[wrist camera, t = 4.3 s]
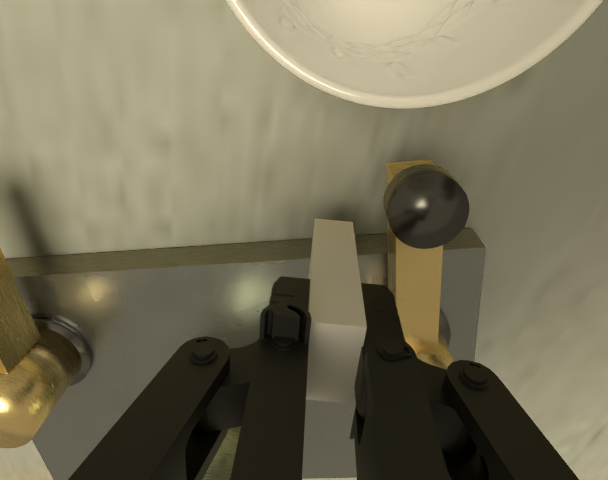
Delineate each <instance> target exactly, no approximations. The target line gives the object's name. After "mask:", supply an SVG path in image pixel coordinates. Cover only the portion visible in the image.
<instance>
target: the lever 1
mask: <svg viewBox="0 0 608 480" xmlns="http://www.w3.org/2000/svg"><path fill="white" fill-rule="evenodd" d="M81 365H82V360H81V356H80V353H79V351H78V350H77V348H76V347H75V345H74V344H73V343H72V342H71V341H70V340H69V339H67V338H66V337H65V336H63V335H62V334H60V333H58V332H55V331H53V330H50V329H47V328H41V327H36V325H35V323H34V321H33V319H32V317H31V314H30V312H29V310H28V308H27V306H26V303H25V301H24V299H23V297H22V295H21V293H20V290H19V288H18V286H17V284H16V282H15V279H14V277H13V275H12V273H11V271H10V268H9V266H8V264H7V262H6V260H5V258H4V255H3V253H2V251H1V249H0V448H15V447H20V446H23V445H25V444H27V443H28V442H29V441H30V440H31V439H32V438H33V436H34V435H35V434H36V432H37V431H38V429H39V428H40V426H41V425H42V424H43V422H44V421H45V419H46V418H47V417H48V415H49V414H50V412H51V411H52V410H53V408H54V407H55V405H56V404H57V402H58V401H59V400H60V398H61V397H62V395H63V394H64V393H65V391H66V390H67V388H68V387H69V385H70V384H71V383H72V381H73V380H74V378H75V377H76V376H77V374H78V373H79V371H80V369H81Z"/></svg>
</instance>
